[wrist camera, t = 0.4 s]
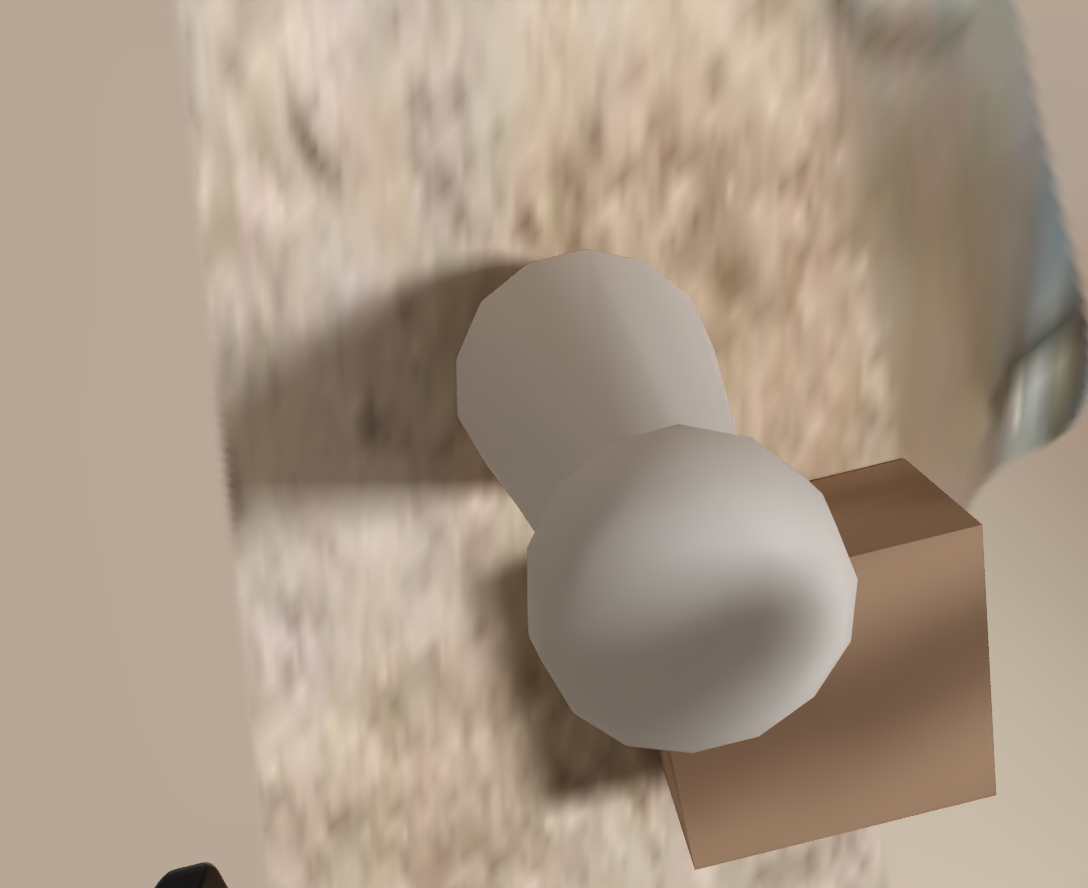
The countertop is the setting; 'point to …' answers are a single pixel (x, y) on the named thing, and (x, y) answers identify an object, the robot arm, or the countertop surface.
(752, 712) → the salt shaker
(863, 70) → the countertop surface
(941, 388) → the countertop surface
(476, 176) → the countertop surface
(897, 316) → the countertop surface
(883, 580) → the walnut plinth
